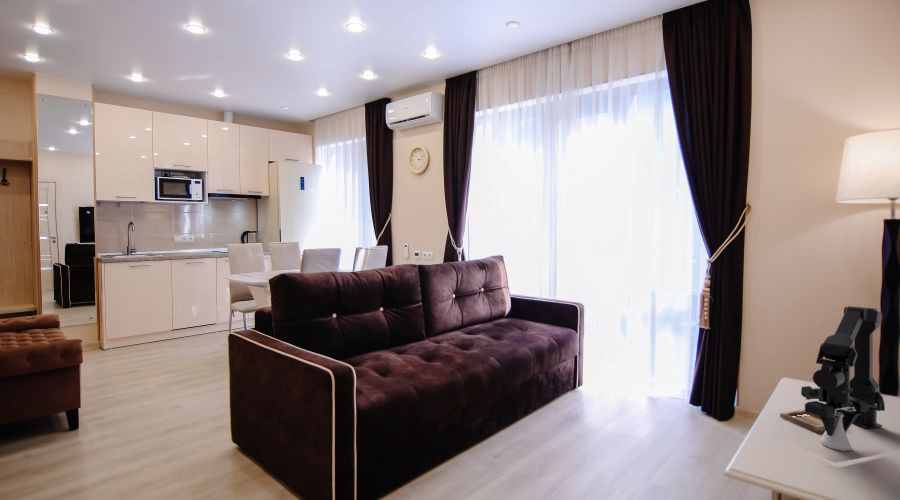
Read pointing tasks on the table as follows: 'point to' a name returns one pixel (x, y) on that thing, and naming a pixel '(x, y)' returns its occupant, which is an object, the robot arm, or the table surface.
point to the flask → (837, 437)
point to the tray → (805, 420)
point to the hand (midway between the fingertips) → (836, 434)
